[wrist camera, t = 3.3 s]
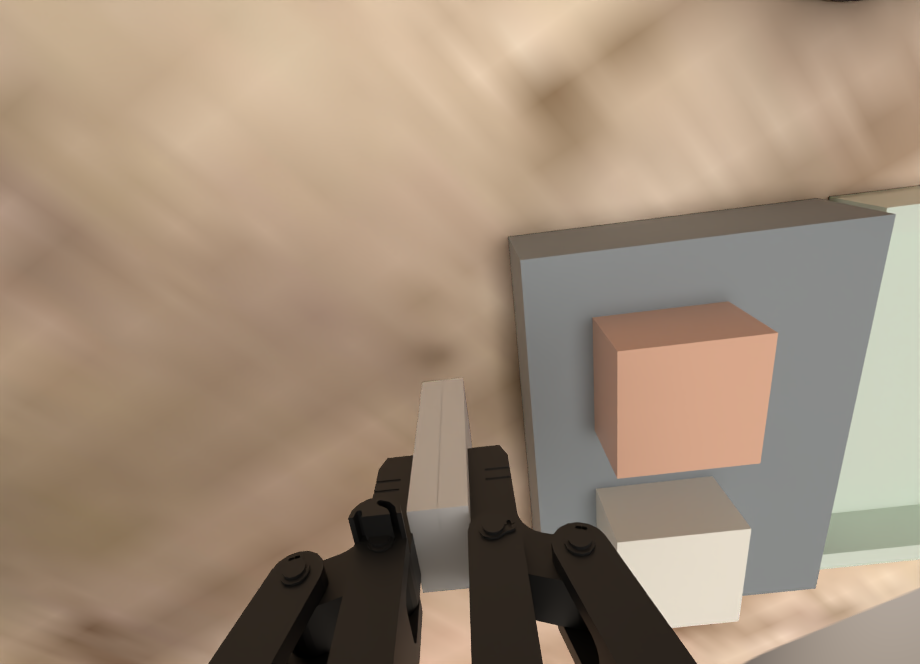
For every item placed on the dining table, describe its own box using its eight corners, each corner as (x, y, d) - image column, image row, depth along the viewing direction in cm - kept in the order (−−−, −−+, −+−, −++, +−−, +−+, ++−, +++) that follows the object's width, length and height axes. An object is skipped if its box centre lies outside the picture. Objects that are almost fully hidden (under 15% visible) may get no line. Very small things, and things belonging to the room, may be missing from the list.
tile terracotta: (594, 430, 20) (617, 478, 18) (592, 317, 18) (617, 351, 16) (717, 416, 20) (760, 463, 17) (728, 301, 18) (778, 332, 15)
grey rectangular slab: (534, 550, 28) (547, 615, 24) (508, 236, 21) (520, 260, 18) (766, 526, 28) (815, 588, 24) (817, 198, 21) (895, 213, 17)
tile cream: (597, 572, 23) (617, 633, 21) (595, 488, 21) (617, 542, 19) (704, 562, 23) (738, 621, 20) (712, 476, 21) (751, 528, 19)
